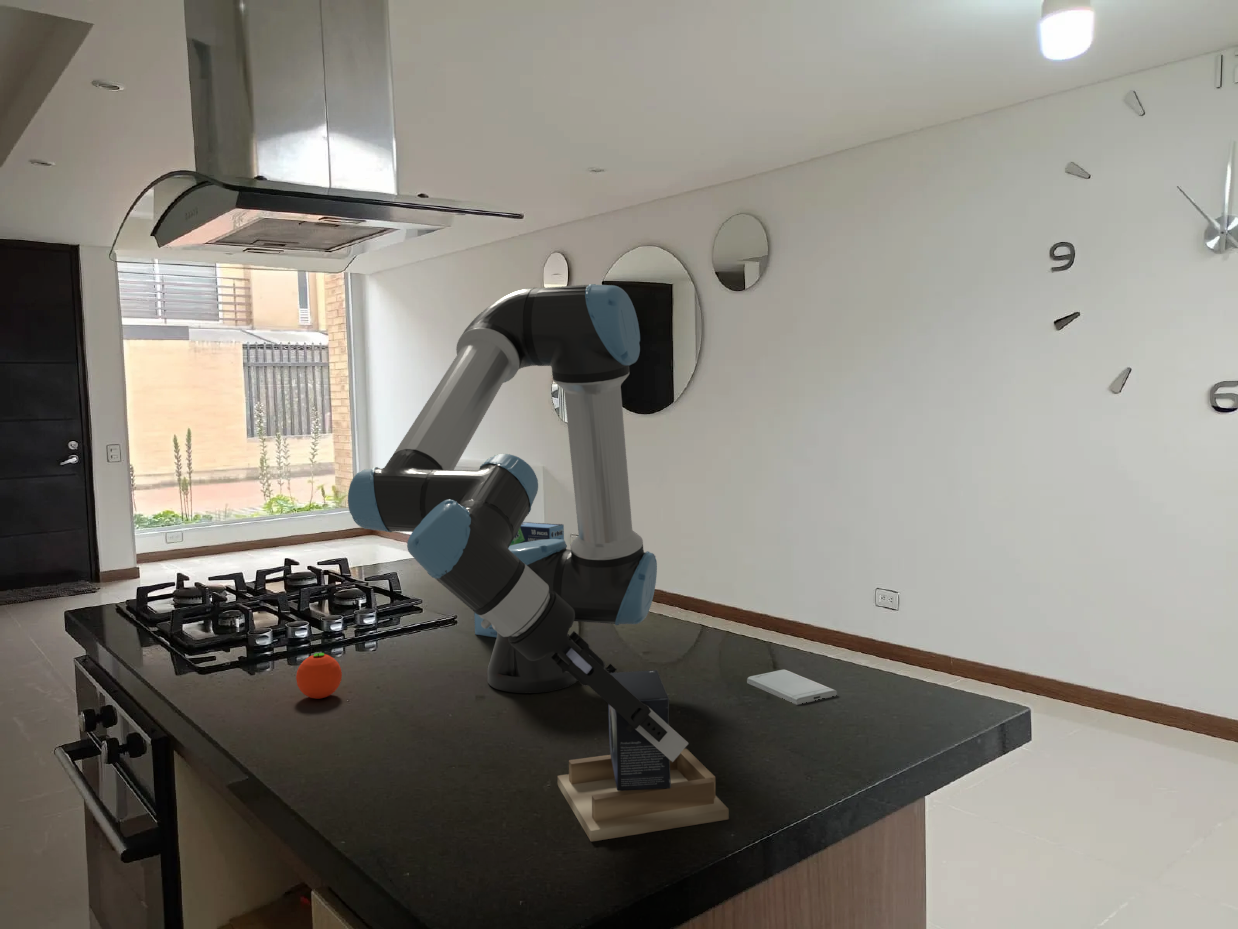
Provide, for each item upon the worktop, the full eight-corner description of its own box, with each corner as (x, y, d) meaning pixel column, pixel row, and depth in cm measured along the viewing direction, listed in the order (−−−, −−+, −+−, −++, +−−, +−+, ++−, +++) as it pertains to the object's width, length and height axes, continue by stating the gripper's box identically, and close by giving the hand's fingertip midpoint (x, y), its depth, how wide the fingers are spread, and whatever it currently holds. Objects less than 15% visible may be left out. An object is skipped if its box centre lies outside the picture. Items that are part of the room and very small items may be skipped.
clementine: (299, 690, 150) (297, 647, 150) (343, 687, 152) (342, 644, 151) (294, 706, 142) (293, 661, 142) (341, 702, 144) (340, 658, 144)
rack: (557, 785, 113) (557, 755, 112) (680, 768, 117) (679, 739, 117) (590, 841, 98) (590, 808, 98) (728, 819, 103) (728, 787, 103)
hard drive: (746, 676, 151) (796, 697, 140) (785, 668, 155) (837, 688, 144) (746, 686, 151) (796, 708, 141) (786, 678, 155) (837, 699, 145)
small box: (606, 755, 112) (605, 670, 112) (659, 752, 113) (659, 668, 112) (614, 792, 102) (612, 699, 101) (672, 789, 102) (671, 697, 102)
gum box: (567, 641, 178) (565, 524, 176) (552, 648, 174) (549, 527, 172) (489, 629, 188) (486, 517, 186) (472, 635, 184) (469, 521, 182)
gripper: (487, 616, 113) (610, 724, 118) (526, 669, 90) (676, 800, 96) (529, 570, 114) (649, 679, 120) (578, 611, 92) (722, 744, 97)
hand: (661, 733), depth 108 cm, fingers closed on small box, 11 cm apart
